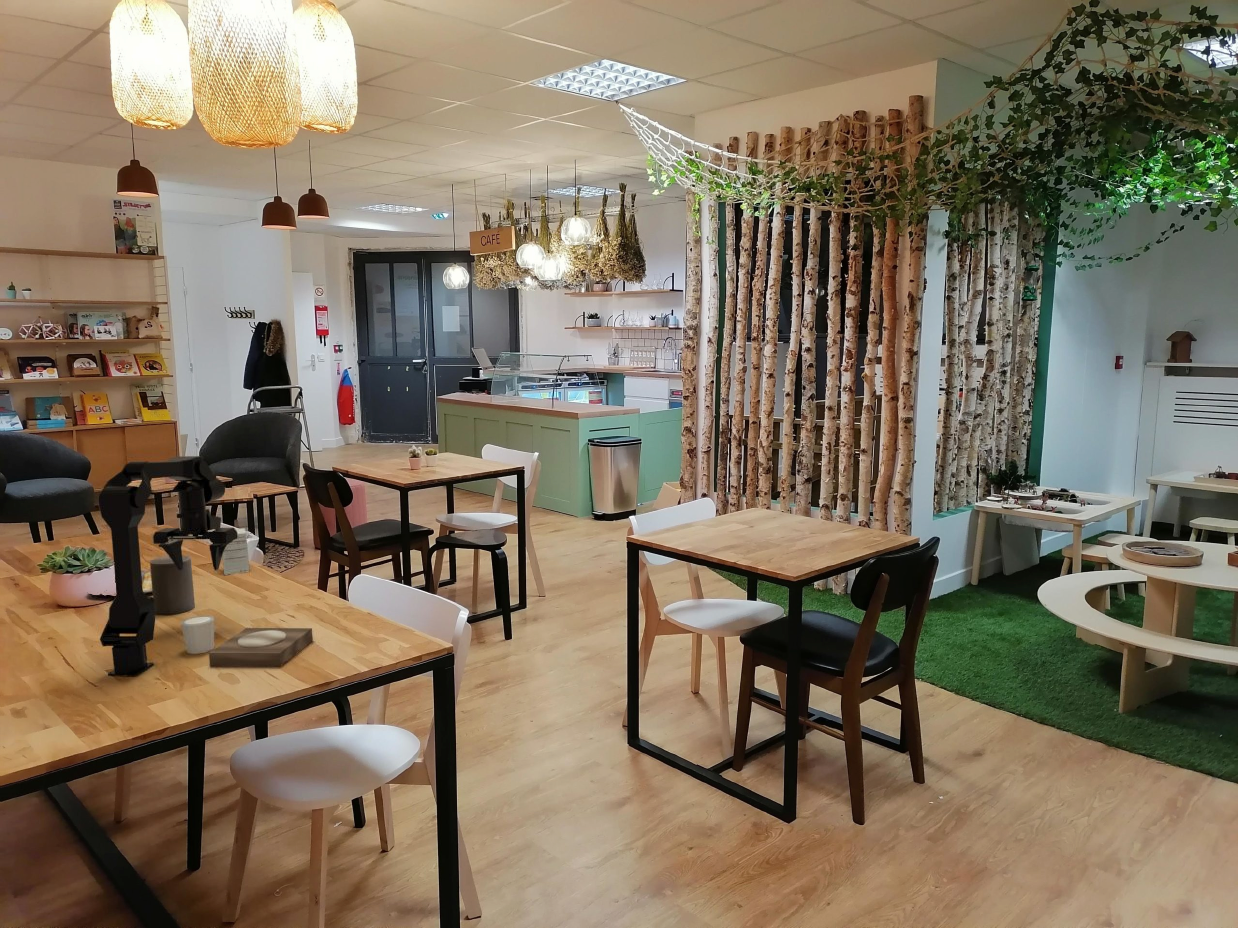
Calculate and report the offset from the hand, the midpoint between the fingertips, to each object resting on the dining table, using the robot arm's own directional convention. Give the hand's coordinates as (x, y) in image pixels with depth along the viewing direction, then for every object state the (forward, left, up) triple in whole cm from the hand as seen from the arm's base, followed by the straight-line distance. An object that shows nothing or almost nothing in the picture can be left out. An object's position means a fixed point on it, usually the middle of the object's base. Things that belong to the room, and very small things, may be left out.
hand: (198, 569), depth 211 cm
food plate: (+34, +40, -15) cm, 55 cm away
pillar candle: (+14, +16, -15) cm, 26 cm away
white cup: (-15, -8, -15) cm, 23 cm away
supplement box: (+51, +19, -15) cm, 57 cm away
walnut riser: (-17, -24, -15) cm, 33 cm away
